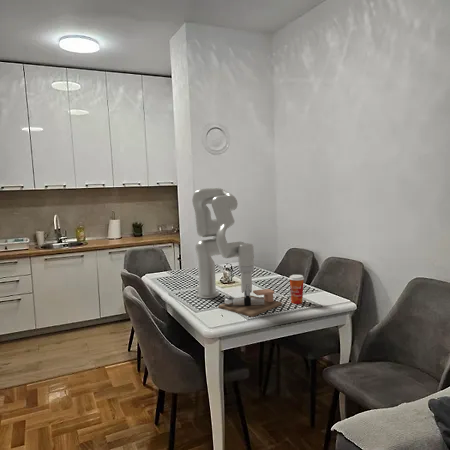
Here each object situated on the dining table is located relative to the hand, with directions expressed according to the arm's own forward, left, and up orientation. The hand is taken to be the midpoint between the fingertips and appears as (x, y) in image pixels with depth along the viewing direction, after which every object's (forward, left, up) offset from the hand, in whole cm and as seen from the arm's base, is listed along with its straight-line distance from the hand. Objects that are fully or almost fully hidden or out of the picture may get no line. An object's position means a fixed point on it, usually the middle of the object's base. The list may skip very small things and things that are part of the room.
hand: (247, 304), depth 199 cm
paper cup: (+13, +25, -3) cm, 28 cm away
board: (-2, +5, -2) cm, 6 cm away
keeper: (0, +13, -2) cm, 13 cm away
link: (-4, +2, -1) cm, 4 cm away
